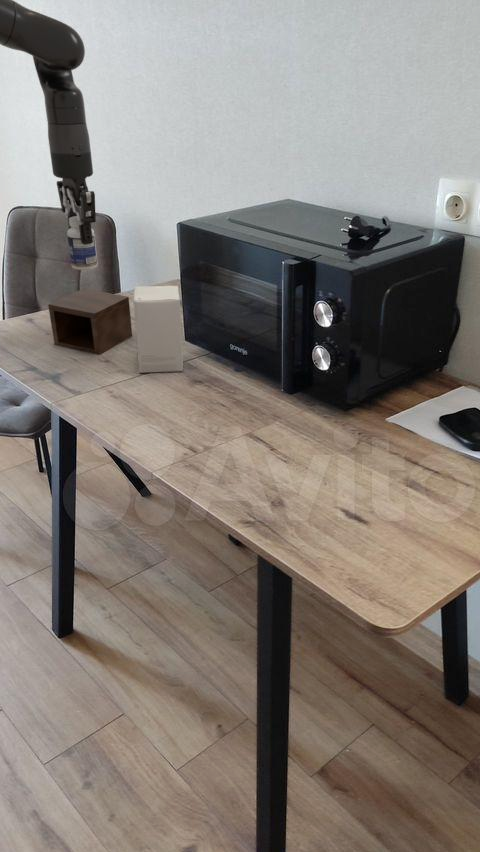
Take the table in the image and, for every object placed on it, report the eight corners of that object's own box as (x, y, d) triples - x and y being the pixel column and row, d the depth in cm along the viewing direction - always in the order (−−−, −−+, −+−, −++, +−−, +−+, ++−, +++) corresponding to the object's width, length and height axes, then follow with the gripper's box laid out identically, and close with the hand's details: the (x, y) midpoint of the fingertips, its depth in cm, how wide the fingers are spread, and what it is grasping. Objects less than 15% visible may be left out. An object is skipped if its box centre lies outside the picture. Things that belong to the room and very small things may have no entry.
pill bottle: (73, 263, 148) (67, 215, 142) (99, 263, 148) (94, 214, 143) (69, 270, 143) (63, 221, 138) (96, 270, 144) (91, 221, 138)
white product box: (184, 372, 141) (180, 299, 133) (138, 374, 140) (132, 300, 132) (182, 354, 149) (178, 284, 141) (139, 356, 148) (133, 285, 140)
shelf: (99, 354, 148) (94, 313, 143) (54, 344, 152) (47, 304, 147) (132, 336, 157) (128, 296, 152) (88, 326, 161) (83, 288, 156)
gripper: (37, 145, 136) (50, 234, 146) (65, 155, 127) (77, 251, 136) (74, 142, 140) (85, 230, 149) (104, 152, 130) (113, 245, 139)
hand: (81, 239), depth 143 cm, fingers closed on pill bottle, 5 cm apart
